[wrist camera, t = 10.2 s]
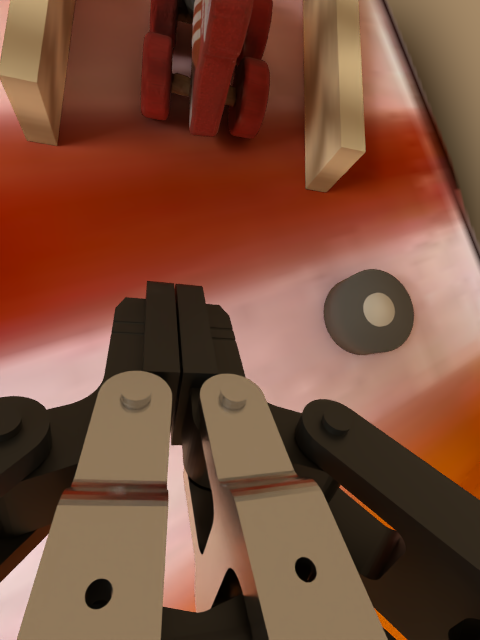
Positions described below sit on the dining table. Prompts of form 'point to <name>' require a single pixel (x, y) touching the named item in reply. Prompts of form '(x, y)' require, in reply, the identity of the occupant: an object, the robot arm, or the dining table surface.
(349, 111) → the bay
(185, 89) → the toy fire truck
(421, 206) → the dining table surface
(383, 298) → the spare wheel
